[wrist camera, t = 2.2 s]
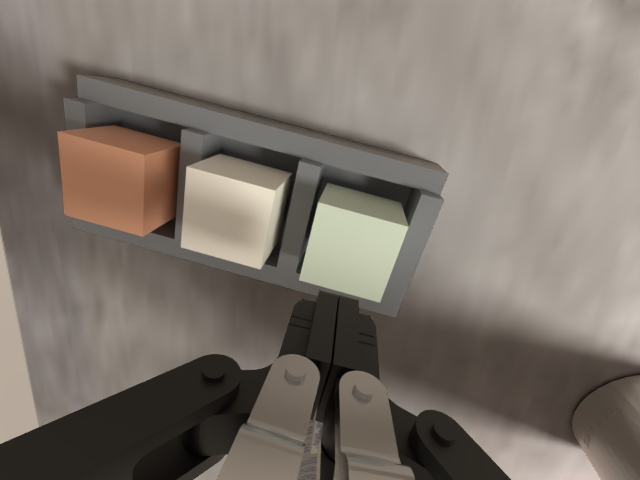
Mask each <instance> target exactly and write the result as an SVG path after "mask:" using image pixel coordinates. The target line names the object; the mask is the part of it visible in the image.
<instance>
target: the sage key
mask: <svg viewBox="0 0 640 480" xmlns="http://www.w3.org/2000/svg"><path fill="white" fill-rule="evenodd" d="M408 228H409V226H408V223H407V220H406V217H405V214H404V211H403V207H402V204H401V202H397V201H393V200H390V199H386V198H382V197H378V196H375V195H371V194H367V193H364V192H360V191H356V190H353V189H349V188H345V187H341V186H338V185H334V184H330V183H327V185H326V187H325V189H324V191H323V193H322V195H321V197H320V200H319V202H318V205H317V209H316V213H315V217H314V221H313V225H312V229H311V233H310V237H309V241H308V245H307V250H306V254H305V258H304V262H303V266H302V270H301V274H300V278H299V280H300V281H304V282H307V283H311V284H314V285H318V286H322V287H325V288H329V289H332V290H336V291H340V292H343V293H347V294H350V295H354V296H358V297H361V298H365V299H368V300H372V301H376V302H379V303H380V302H381V299H382V296H383V294H384V291H385V288H386V286H387V283H388V280H389V278H390V275H391V273H392V270H393V267H394V265H395V262H396V259H397V257H398V254H399V251H400V249H401V246H402V243H403V241H404V238H405V236H406V233H407V230H408Z"/></svg>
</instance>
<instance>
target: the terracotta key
mask: <svg viewBox="0 0 640 480" xmlns="http://www.w3.org/2000/svg"><path fill="white" fill-rule="evenodd" d="M57 133H58V144H59V156H60V168H61V180H62V191H63V203H64V215H66V216H70V217H73V218H77V219H81V220H84V221H88V222H91V223H95V224H99V225H102V226H106V227H109V228H113V229H117V230H120V231H124V232H127V233H131V234H135V235H138V236H142V237H143V236H145V235H147V234H148V233H150V232H152V231H153V230H155V229H156V228H158V227H160V226H161V225H163V224H164V223H166V222H168V221H169V220H171V219H173V218H174V217H176V209H177V193H178V177H179V162H180V146H181V143H179V142H175V141H171V140H168V139H164V138H160V137H157V136H153V135H149V134H145V133H142V132H138V131H134V130H131V129H127V128H123V127H120V126H116V125H112V126H102V127H93V128H84V129H74V130H65V131H57Z"/></svg>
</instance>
